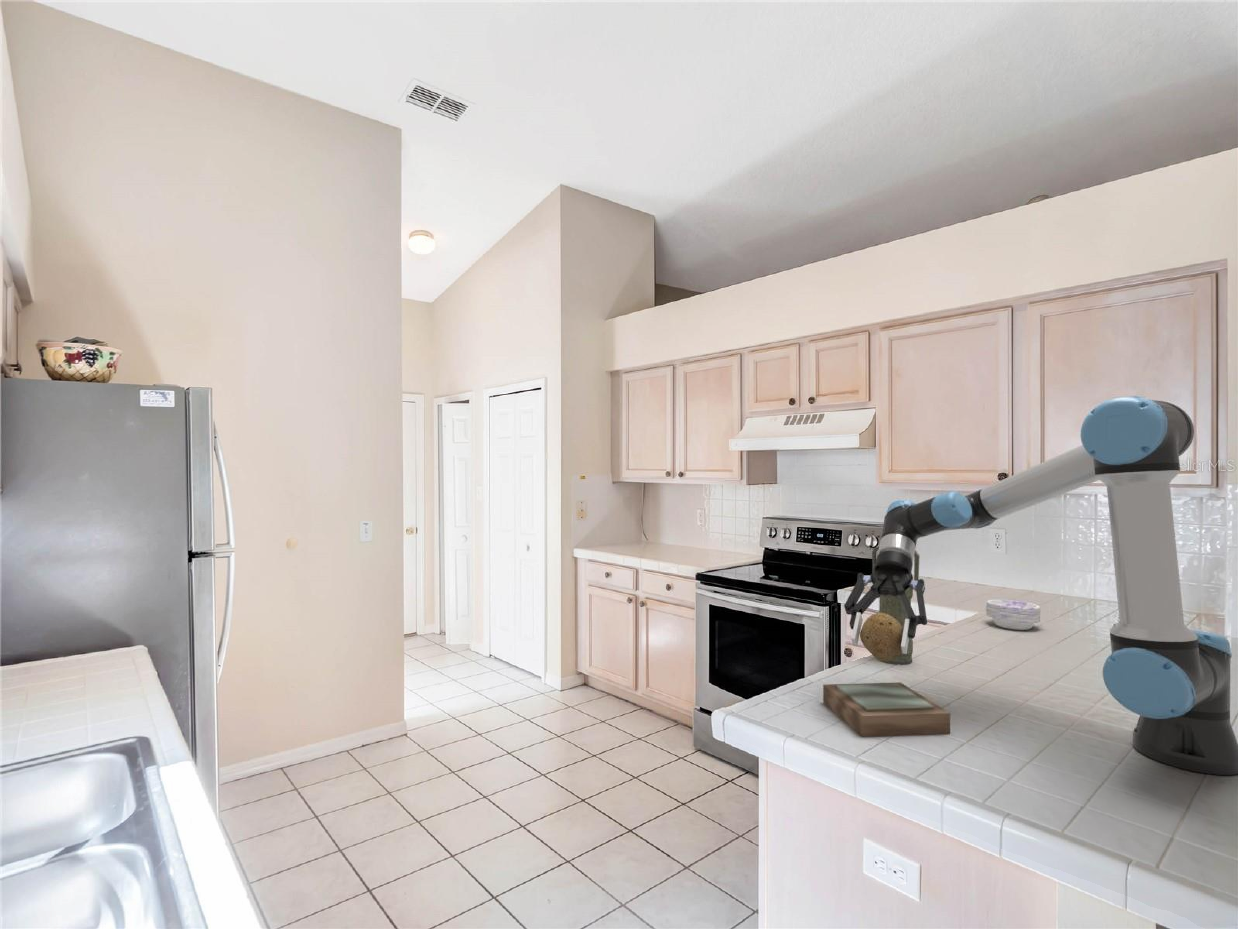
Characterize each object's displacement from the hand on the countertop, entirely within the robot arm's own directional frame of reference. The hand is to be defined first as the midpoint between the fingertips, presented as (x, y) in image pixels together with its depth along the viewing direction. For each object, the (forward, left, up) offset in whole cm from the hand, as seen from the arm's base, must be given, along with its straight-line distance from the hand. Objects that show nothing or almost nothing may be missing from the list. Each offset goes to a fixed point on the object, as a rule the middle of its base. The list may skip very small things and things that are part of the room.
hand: (878, 646), depth 131 cm
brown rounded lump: (+3, -2, -4) cm, 5 cm away
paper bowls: (+72, -85, -16) cm, 113 cm away
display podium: (+2, -2, -15) cm, 16 cm away
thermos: (+40, -26, -16) cm, 50 cm away
